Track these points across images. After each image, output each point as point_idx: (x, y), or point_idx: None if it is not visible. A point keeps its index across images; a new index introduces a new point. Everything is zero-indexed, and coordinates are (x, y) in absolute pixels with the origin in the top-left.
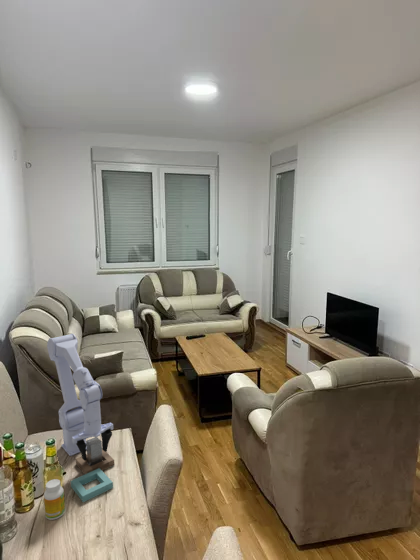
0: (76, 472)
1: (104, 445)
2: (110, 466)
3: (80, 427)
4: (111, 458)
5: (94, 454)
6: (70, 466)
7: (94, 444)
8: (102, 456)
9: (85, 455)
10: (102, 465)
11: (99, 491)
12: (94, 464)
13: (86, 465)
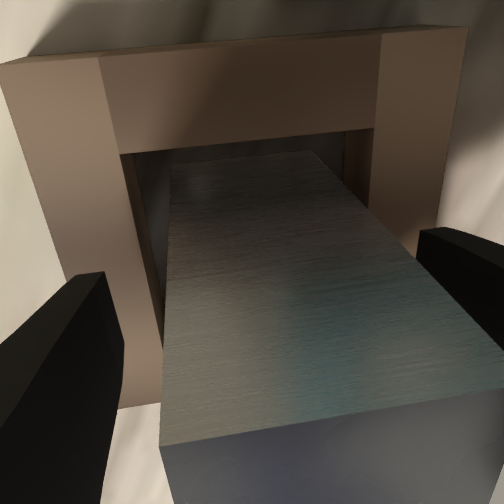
0: (453, 197)
1: (84, 365)
2: (90, 52)
3: None
4: (35, 132)
5: (325, 232)
6: None
7: (405, 386)
8: (147, 269)
9: (494, 254)
10: (217, 47)
11: None
12: (291, 167)
13: (398, 182)
